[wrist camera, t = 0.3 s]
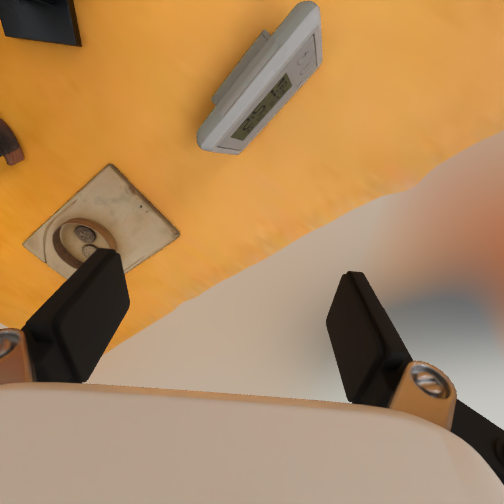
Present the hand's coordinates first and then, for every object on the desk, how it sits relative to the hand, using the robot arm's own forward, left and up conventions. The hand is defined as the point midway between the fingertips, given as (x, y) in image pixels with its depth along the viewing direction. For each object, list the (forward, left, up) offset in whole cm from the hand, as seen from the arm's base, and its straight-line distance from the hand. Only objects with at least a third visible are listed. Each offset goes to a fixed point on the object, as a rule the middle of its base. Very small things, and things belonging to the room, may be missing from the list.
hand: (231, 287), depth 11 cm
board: (+19, -24, -31) cm, 44 cm away
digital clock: (-6, +1, -31) cm, 32 cm away
